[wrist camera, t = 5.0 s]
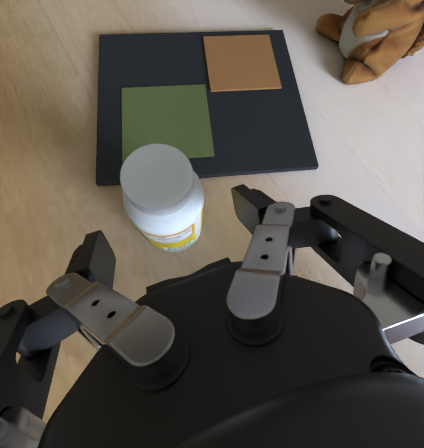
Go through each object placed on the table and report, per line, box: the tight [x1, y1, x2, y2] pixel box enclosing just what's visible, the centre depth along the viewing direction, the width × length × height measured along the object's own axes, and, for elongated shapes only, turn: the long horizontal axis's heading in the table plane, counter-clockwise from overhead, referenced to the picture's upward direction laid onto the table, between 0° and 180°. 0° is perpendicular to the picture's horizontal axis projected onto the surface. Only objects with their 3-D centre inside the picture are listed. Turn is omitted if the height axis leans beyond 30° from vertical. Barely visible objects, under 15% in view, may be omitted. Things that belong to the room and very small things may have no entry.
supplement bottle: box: [120, 144, 204, 252], centre depth 17 cm, size 5×5×10 cm
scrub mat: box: [96, 30, 318, 186], centre depth 26 cm, size 22×19×1 cm
